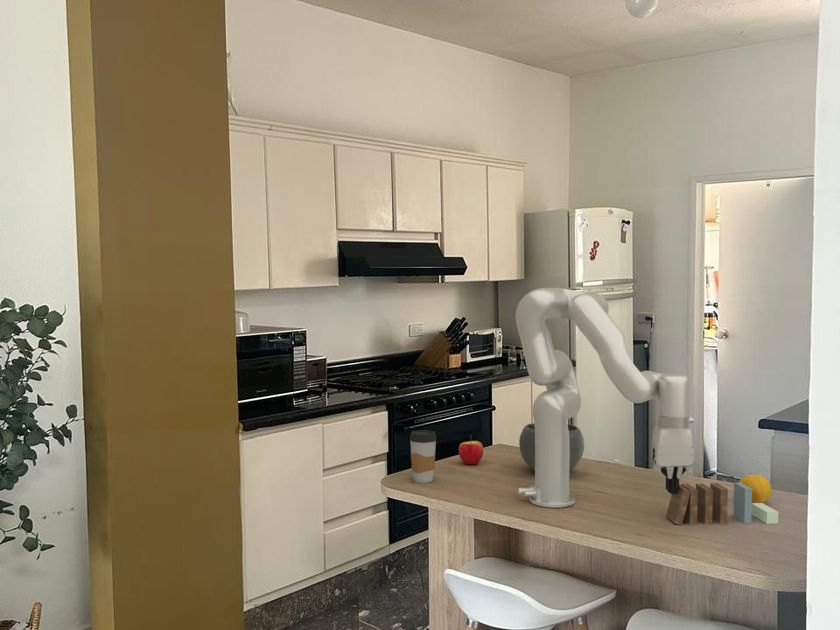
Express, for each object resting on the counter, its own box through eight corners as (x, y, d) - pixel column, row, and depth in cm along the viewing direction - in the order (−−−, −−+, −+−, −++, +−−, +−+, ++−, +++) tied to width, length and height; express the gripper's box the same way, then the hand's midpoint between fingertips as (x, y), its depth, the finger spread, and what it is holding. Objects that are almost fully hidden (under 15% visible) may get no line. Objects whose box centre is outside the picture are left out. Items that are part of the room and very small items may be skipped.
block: (766, 523, 205) (767, 512, 205) (751, 514, 213) (751, 503, 213) (778, 523, 205) (778, 512, 205) (762, 514, 213) (762, 503, 213)
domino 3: (705, 524, 204) (705, 489, 204) (695, 517, 210) (695, 483, 210) (712, 524, 205) (712, 489, 204) (701, 517, 211) (702, 483, 210)
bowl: (589, 481, 247) (590, 433, 246) (523, 480, 247) (523, 432, 246) (577, 465, 267) (578, 420, 266) (516, 465, 267) (516, 420, 266)
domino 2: (690, 524, 204) (690, 490, 204) (680, 517, 210) (681, 483, 210) (696, 524, 204) (697, 490, 204) (687, 517, 210) (687, 483, 210)
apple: (457, 466, 265) (457, 436, 265) (460, 460, 274) (460, 431, 273) (482, 467, 264) (482, 437, 263) (484, 461, 272) (484, 432, 272)
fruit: (731, 500, 226) (731, 472, 225) (752, 497, 229) (753, 469, 228) (755, 509, 218) (756, 480, 217) (777, 505, 221) (778, 477, 220)
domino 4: (720, 524, 205) (720, 489, 204) (709, 516, 211) (710, 483, 210) (727, 523, 205) (727, 489, 204) (716, 516, 211) (717, 483, 210)
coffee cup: (441, 479, 249) (441, 431, 248) (427, 485, 242) (427, 436, 241) (418, 475, 253) (418, 428, 252) (404, 481, 246) (404, 433, 245)
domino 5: (744, 523, 205) (745, 488, 205) (733, 516, 211) (734, 482, 211) (751, 523, 205) (751, 488, 205) (739, 516, 211) (740, 482, 211)
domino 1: (675, 523, 204) (684, 489, 203) (665, 516, 210) (674, 483, 209) (681, 525, 204) (690, 491, 204) (672, 517, 210) (681, 484, 210)
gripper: (695, 419, 210) (694, 488, 211) (639, 420, 208) (638, 489, 209) (707, 424, 202) (706, 495, 203) (650, 425, 201) (649, 497, 202)
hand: (672, 492), depth 206 cm, fingers closed
